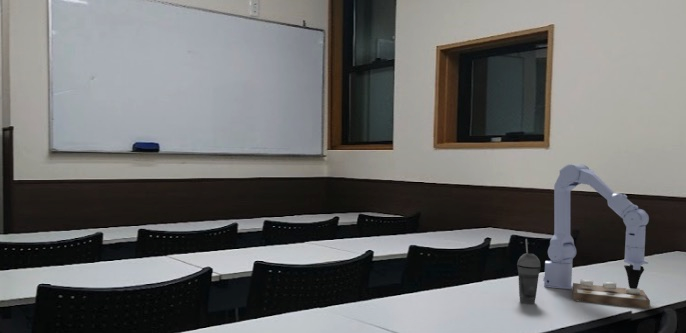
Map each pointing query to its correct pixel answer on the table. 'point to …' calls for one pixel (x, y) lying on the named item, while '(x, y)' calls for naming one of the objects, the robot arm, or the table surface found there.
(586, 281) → the button left
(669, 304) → the table surface
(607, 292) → the button board
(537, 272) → the beverage cup
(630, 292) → the button right
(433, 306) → the table surface
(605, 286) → the button middle
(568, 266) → the robot arm
